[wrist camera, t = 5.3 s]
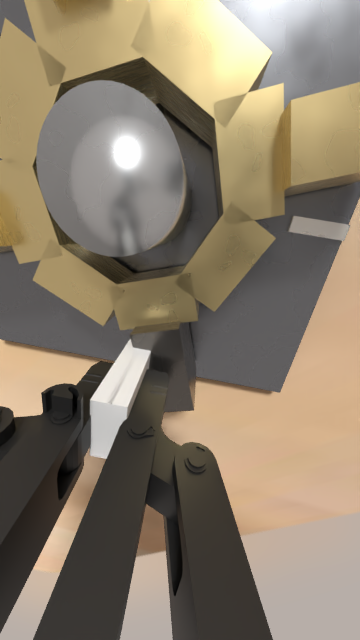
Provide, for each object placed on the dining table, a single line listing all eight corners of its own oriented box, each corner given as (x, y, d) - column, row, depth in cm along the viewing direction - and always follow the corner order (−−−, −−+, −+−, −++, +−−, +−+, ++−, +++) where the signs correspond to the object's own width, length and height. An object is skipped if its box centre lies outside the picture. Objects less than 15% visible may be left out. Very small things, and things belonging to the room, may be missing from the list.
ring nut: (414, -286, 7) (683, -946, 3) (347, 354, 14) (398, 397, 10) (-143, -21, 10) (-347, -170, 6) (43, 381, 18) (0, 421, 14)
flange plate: (449, -60, 9) (960, -666, 3) (275, 383, 17) (314, 465, 11) (-71, -120, 10) (-521, -696, 4) (3, 332, 18) (-97, 382, 12)
